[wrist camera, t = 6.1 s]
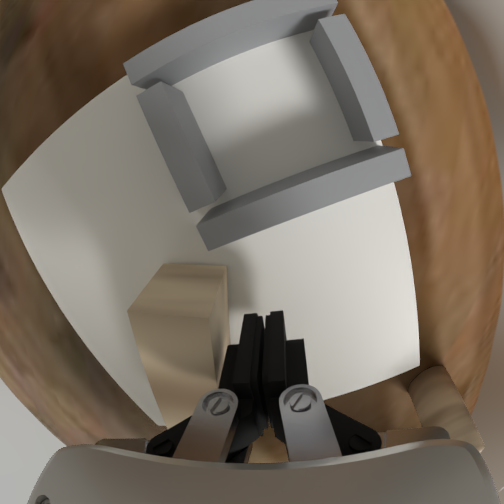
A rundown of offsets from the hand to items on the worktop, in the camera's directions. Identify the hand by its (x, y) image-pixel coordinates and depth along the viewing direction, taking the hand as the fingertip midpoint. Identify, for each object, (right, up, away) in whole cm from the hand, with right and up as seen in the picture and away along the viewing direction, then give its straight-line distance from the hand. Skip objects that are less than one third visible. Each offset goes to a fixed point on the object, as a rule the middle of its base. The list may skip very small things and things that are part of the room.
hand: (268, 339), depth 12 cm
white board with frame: (-3, +3, +4) cm, 6 cm away
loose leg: (+15, -8, +8) cm, 18 cm away
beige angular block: (-3, -2, +3) cm, 5 cm away
